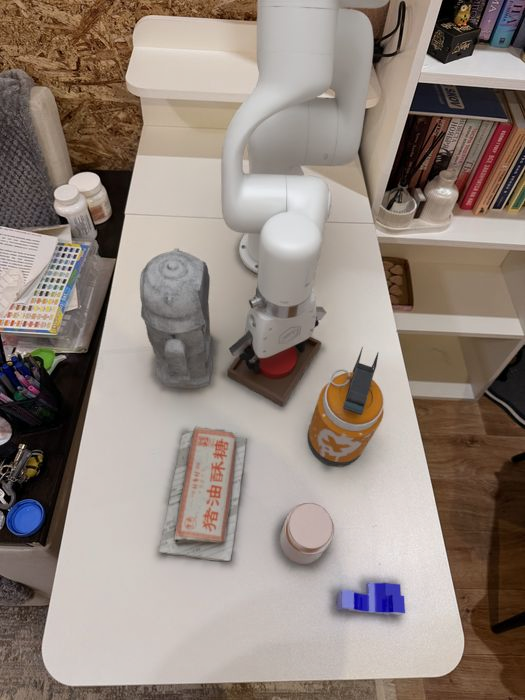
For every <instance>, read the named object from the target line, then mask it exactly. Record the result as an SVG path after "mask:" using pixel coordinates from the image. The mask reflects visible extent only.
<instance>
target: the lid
mask: <svg viewBox="0 0 525 700" xmlns="http://www.w3.org/2000/svg"><path fill="white" fill-rule="evenodd" d="M258 359H259V360H260V368H259V372H260V373H261V374H262V375H263V376H265V377H266V378H271V379H281V378H284V377H286V376H288V375H289V374H291V373H292V371H293V370H294V369H295V365H296V362H297V354H296V350H295V348H294V347H293V346H292V347H290V348H288V349H285V350H283V351H281V352H279V353H277V354H274V355H272V356H269V357H267V358H258Z"/></svg>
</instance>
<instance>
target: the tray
mask: <svg viewBox="0 0 525 700" xmlns="http://www.w3.org/2000/svg"><path fill="white" fill-rule="evenodd" d="M321 345H322V341H320V340H318V339H316V338H314V337H313V336H310V337H309V338H308V339H307V342H306V346H305V350H304V352H302V353H301V352H299V351H298V349H297V348H296V346H295V345H294V346H293V347H294V348H295V350H296V354H297V362H296V365H295V369H294V370H293V371H292V373H291V374H289V375H288V376H286V377H284V378H281V379H271V378H266V377H265V376H263V375H262V374H261V373H260V372H258V373H257V374H255V373H254V371H253V370H252V368H251V369H248V367H247V365H246V363H245V360H241V359H240V358H239V357H238V358H237V357H235V359H234V361H233V362H232V363H231V365H230V366H229V367H228V369H227V377H229V378H230V379H232V380H233V381H236V382H237V383H238V384H241V385H243V386H244V387H246V388H248V389H250V390H252V392H255V393H257V394H259V396H261V397H263V398H265V399H267V400H269V401H271V402H273V403H274V404H276V405H278V406H280V407H284V405H285V403H287V401H288V399H289V397H291V395H292V393H293V391H294V390H295V388H296V386H297V385H298V383H299V382H300V381H301V379H302V377H303V376H304V374H305V373H306V371H307V370H308V368H309V366H310V364H311V363H312V361H313V360H314V359H315V357H316V355H317V354H318V352H319V350H320V349H321ZM252 349H253V347H252ZM253 350H254V349H253Z"/></svg>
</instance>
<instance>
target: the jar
mask: <svg viewBox="0 0 525 700" xmlns="http://www.w3.org/2000/svg"><path fill="white" fill-rule="evenodd" d="M334 525H335V524H334V522H333V519H332V517H331V515H330V513H329V512H328V511H327V510H326V509H325V508H324V507H323V506H321V505H320V504H317V503H313V502H304V503H300V504H297V505H296V506H294V507H293V508H292V509H291V510H290V511H289V512H288V514H287V515H286V517H285V520H284V523H283V525H282V528H281V531H280V534H279V545H280V549H281V551H282V552H283V554H284V555H285V557H286V558H287V559H288V560H289V561H291V562H293V563H295V564H298V565H309V564H312V563H314V562H315V561H318V559H319V558H320V557H321V556H322V554H323V553H324V552H325V551H326V550H327V549H328V548H329V546H331V543H332V541H333V539H334V536H335V527H334Z"/></svg>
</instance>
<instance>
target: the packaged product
mask: <svg viewBox="0 0 525 700" xmlns="http://www.w3.org/2000/svg"><path fill="white" fill-rule="evenodd" d="M247 440H248V438H247V437H241V436H236V435H234V433H233V432H232V431H227V430H225V429H218V428H217V429H212V428H208V427H200V426H197V425H196V426H194V428H193V430H187V431H186V430H185V431H184V432H182V434H181V439H180V445H179V450H178V454H177V459H176V466H175V470H174V474H173V480H172V485H171V489H170V494H169V501H168V505H167V509H166V510H167V511H166V515H165V520H164V525H163V531H162V537H161V541H160V546H159V550H158V552H159V553H163V554H165V555H166V554H167V555H171V556H185V557H190V558H197V559H203V560H209V561H221V562H231V561H232V555H233V554H232V553H233V547H234V540H235V534H236V526H237V525H236V524H237V517H238V516H237V515H238V507H239V499H240V493H241V487H242V477H243V476H242V474H243V473H244V472H243V471H244V464H245V451H246V445H247Z"/></svg>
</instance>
